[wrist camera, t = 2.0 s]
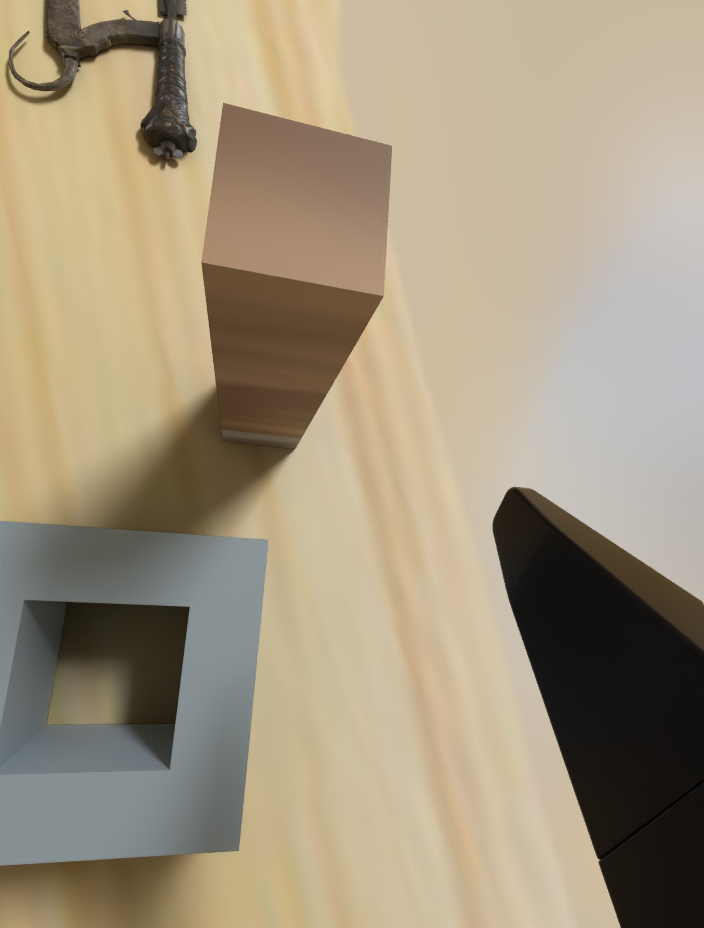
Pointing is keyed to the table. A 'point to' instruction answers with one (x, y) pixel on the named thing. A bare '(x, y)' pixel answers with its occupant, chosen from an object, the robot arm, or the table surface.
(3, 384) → the table surface
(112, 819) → the holder
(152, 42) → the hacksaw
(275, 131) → the tan rectangular block
